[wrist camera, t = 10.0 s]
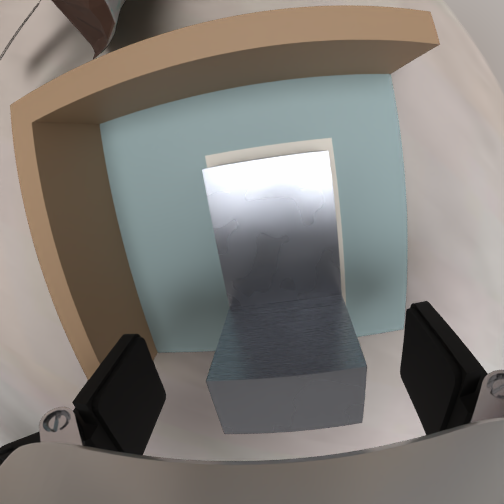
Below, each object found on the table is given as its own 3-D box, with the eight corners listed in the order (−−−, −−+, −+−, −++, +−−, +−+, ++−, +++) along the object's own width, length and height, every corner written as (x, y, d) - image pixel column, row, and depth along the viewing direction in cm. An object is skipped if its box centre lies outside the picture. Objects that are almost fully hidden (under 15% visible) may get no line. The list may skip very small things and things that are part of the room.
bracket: (335, 316, 15) (362, 422, 9) (246, 326, 16) (224, 433, 9) (319, 150, 13) (359, 153, 6) (215, 165, 13) (153, 184, 7)
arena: (400, 323, 16) (436, 389, 10) (143, 346, 18) (104, 409, 12) (381, 53, 11) (430, 11, 6) (84, 110, 13) (10, 105, 8)
